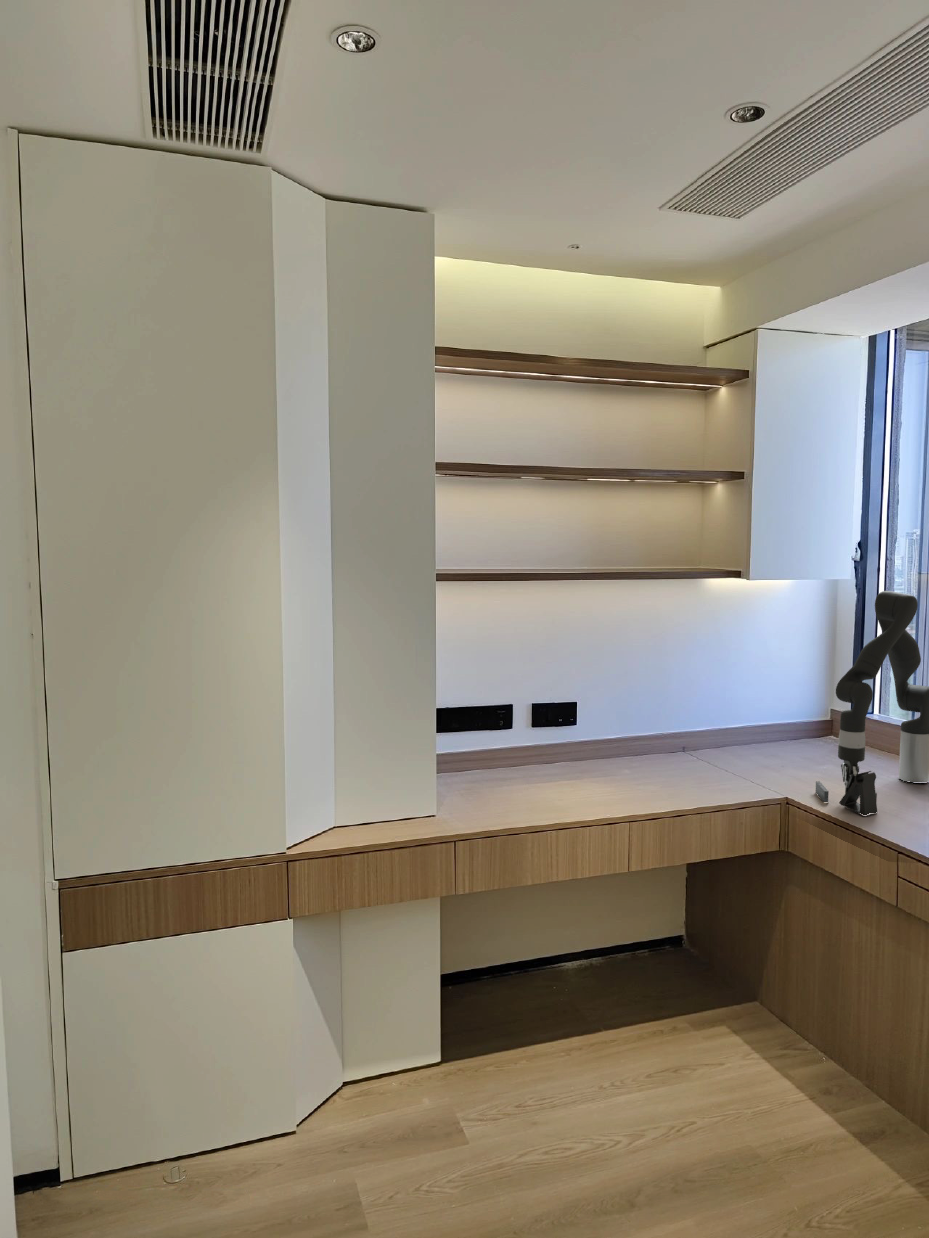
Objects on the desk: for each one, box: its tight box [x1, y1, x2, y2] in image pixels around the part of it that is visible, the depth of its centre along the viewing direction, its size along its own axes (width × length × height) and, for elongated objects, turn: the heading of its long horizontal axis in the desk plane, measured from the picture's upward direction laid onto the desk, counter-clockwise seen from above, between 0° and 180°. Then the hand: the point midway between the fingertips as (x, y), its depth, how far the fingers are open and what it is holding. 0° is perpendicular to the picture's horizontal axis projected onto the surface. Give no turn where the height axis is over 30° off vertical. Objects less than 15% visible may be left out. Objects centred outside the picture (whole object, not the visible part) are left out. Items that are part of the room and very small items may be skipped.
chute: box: [815, 780, 878, 803], centre depth 263 cm, size 11×15×4 cm
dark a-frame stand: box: [838, 770, 878, 815], centre depth 250 cm, size 9×6×12 cm, turn 30°
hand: (849, 798), depth 257 cm, fingers closed
